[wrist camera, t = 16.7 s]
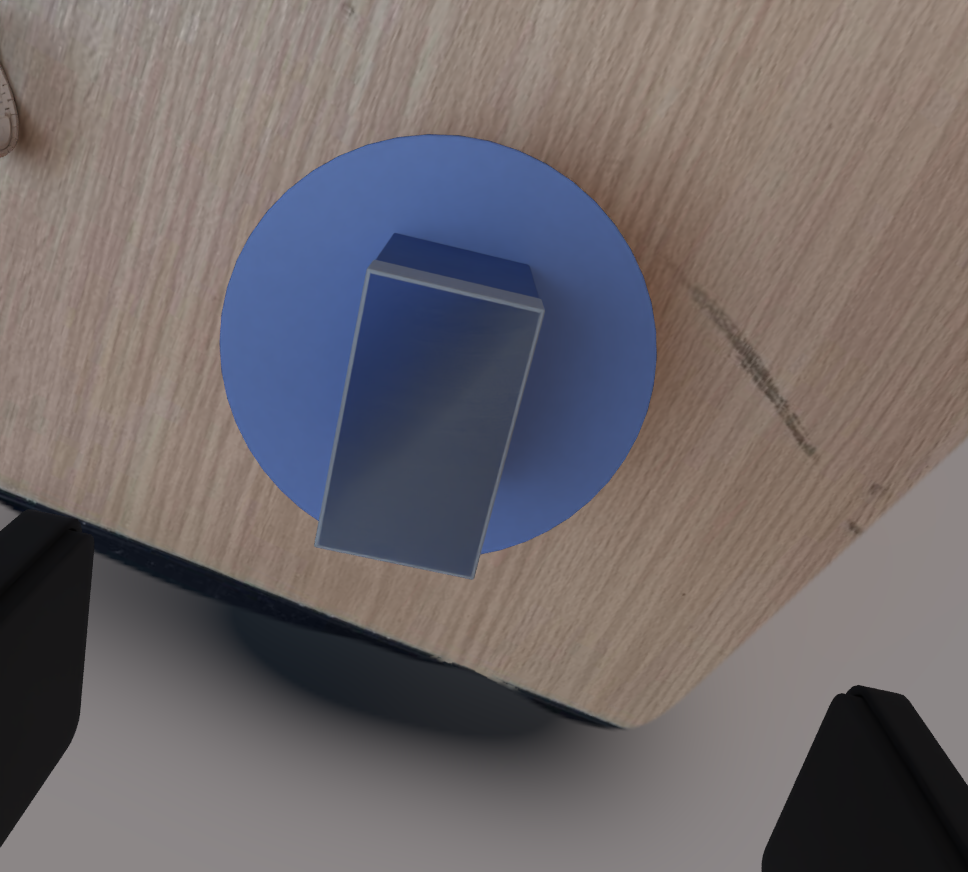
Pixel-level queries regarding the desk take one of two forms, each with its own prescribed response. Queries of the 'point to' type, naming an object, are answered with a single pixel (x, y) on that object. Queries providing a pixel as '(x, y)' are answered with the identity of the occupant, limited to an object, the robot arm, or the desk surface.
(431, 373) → the grey and blue block
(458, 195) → the blue round puck
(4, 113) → the tan curved piece
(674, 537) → the desk surface
